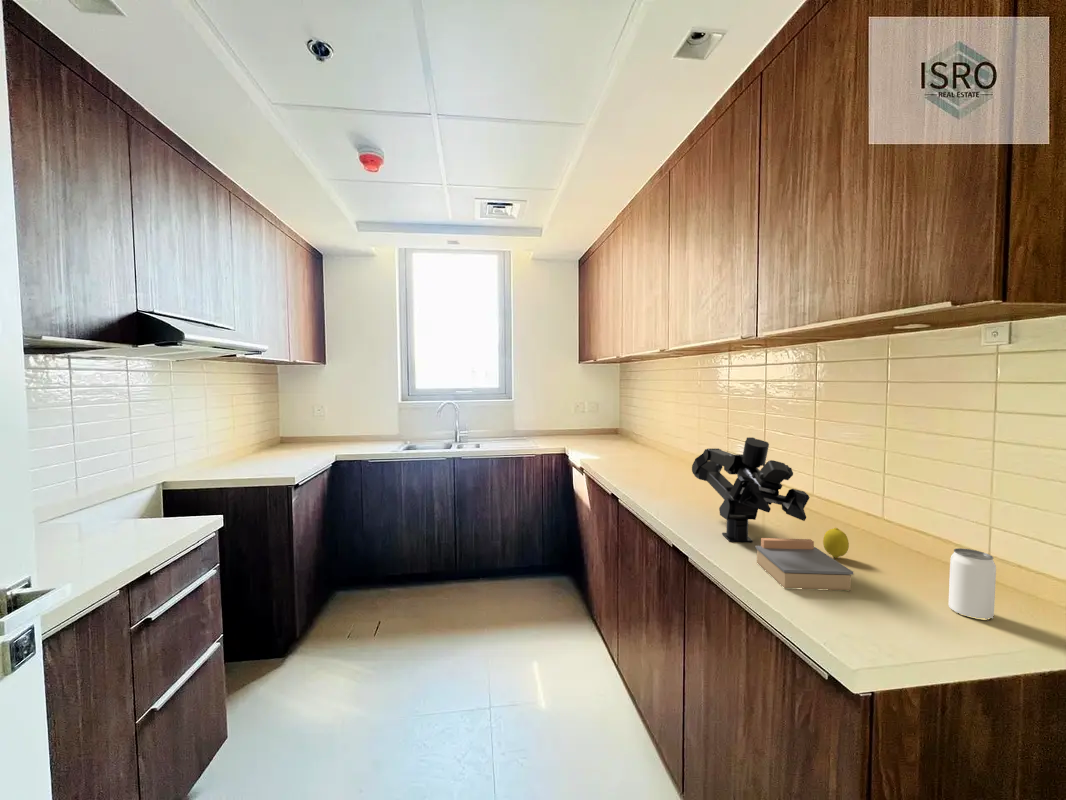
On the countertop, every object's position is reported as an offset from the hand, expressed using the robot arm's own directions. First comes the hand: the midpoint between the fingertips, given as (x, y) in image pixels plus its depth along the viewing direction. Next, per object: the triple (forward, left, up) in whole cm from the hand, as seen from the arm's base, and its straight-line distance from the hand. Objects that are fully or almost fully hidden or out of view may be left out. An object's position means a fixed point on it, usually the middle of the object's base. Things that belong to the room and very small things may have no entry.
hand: (787, 514), depth 106 cm
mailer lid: (0, +3, -11) cm, 11 cm away
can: (+15, +28, -15) cm, 35 cm away
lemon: (-12, +18, -15) cm, 26 cm away
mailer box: (0, +3, -14) cm, 15 cm away
